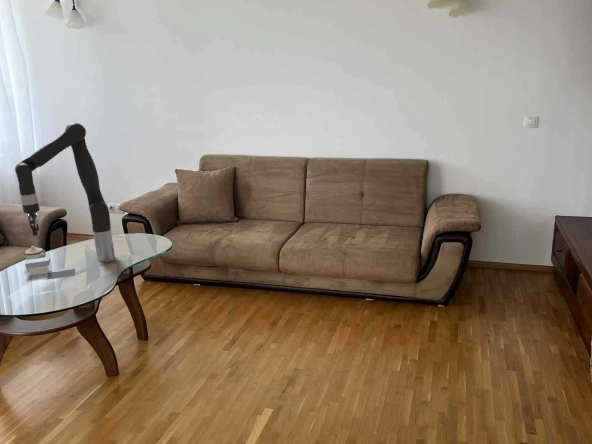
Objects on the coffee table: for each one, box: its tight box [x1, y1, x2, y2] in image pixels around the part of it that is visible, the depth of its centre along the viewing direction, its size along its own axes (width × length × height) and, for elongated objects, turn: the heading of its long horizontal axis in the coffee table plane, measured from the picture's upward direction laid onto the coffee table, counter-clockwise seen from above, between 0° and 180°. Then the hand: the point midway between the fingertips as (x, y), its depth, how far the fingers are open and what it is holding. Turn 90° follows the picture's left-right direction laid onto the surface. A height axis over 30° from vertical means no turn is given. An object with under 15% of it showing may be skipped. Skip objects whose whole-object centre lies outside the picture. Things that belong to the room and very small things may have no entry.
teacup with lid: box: [24, 245, 47, 261], centre depth 299 cm, size 12×9×12 cm
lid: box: [24, 256, 51, 270], centre depth 287 cm, size 11×6×3 cm, turn 109°
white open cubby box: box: [27, 265, 51, 276], centre depth 288 cm, size 9×6×5 cm, turn 109°
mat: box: [46, 268, 76, 280], centre depth 285 cm, size 13×10×1 cm
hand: (36, 233), depth 284 cm, fingers open, 8 cm apart
